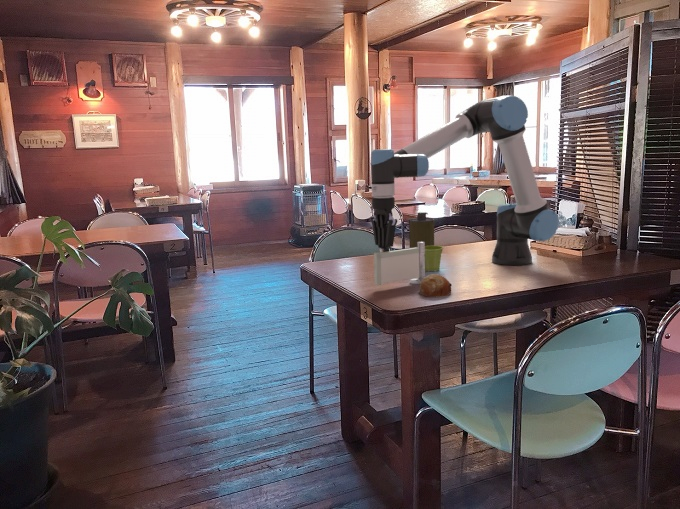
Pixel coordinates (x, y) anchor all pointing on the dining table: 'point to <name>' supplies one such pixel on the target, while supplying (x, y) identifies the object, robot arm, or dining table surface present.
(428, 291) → the bread roll
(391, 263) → the gate
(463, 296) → the dining table surface
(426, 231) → the canister
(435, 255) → the plant pot
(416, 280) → the gate post
